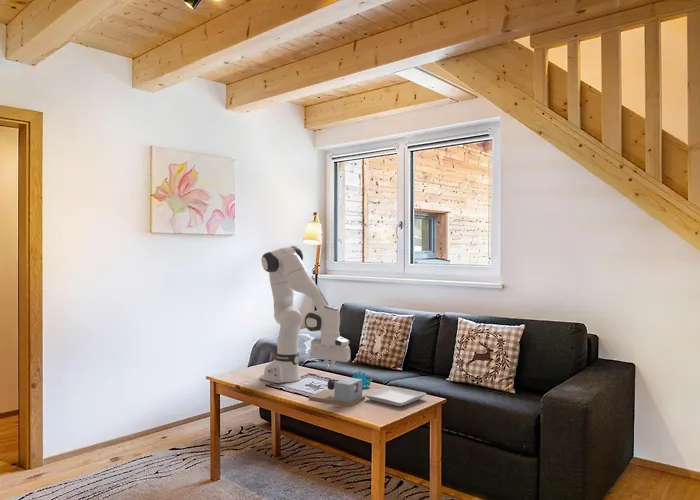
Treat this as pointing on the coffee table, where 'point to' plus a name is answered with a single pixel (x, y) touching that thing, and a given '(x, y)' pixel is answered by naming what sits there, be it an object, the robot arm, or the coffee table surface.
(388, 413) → the coffee table surface
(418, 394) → the salad plate
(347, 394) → the bearing block
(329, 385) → the shaft
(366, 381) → the gear
